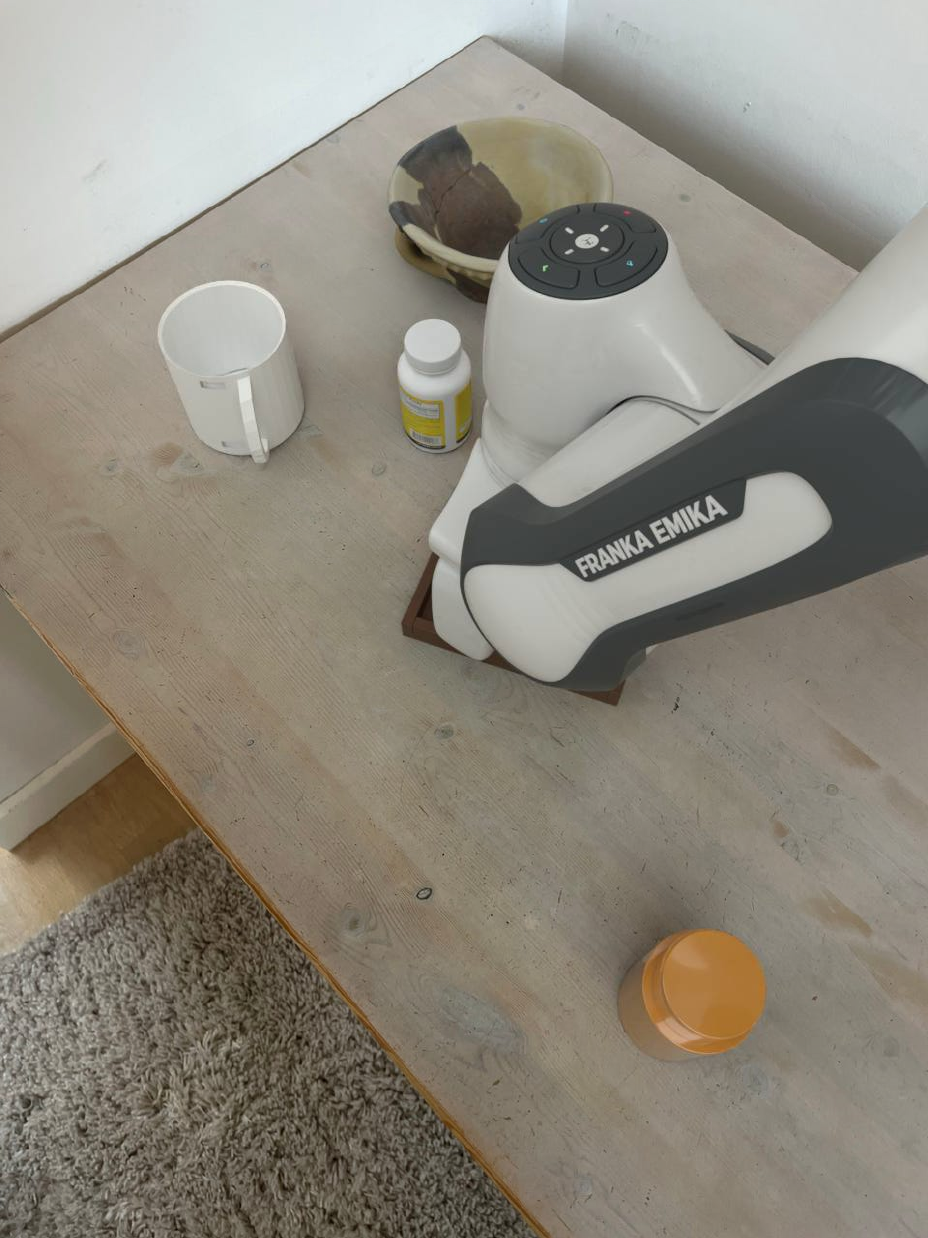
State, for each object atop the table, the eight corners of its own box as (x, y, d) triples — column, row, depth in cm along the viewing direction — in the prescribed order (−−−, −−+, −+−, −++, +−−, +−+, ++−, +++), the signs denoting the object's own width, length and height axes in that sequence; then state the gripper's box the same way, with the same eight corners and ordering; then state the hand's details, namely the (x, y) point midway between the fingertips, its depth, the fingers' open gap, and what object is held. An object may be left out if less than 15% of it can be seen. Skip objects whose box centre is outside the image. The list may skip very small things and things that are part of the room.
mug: (190, 372, 79) (158, 286, 71) (302, 361, 80) (283, 274, 72) (190, 495, 74) (155, 417, 66) (310, 482, 75) (290, 404, 66)
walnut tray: (668, 544, 72) (673, 529, 70) (616, 706, 66) (620, 695, 64) (469, 484, 74) (469, 468, 73) (402, 635, 69) (401, 622, 67)
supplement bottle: (457, 392, 78) (455, 302, 70) (482, 443, 76) (483, 356, 67) (393, 411, 78) (383, 323, 69) (416, 464, 75) (409, 379, 67)
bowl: (607, 211, 88) (622, 114, 79) (589, 366, 80) (604, 277, 71) (413, 192, 89) (408, 94, 80) (376, 342, 81) (366, 251, 72)
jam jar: (730, 974, 59) (789, 944, 48) (705, 1078, 56) (762, 1071, 45) (633, 938, 60) (670, 901, 49) (605, 1039, 57) (637, 1023, 46)
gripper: (604, 323, 61) (581, 455, 73) (408, 555, 53) (419, 659, 66) (693, 368, 59) (654, 496, 72) (504, 614, 52) (497, 709, 64)
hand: (540, 576), depth 69 cm, fingers open, 8 cm apart
